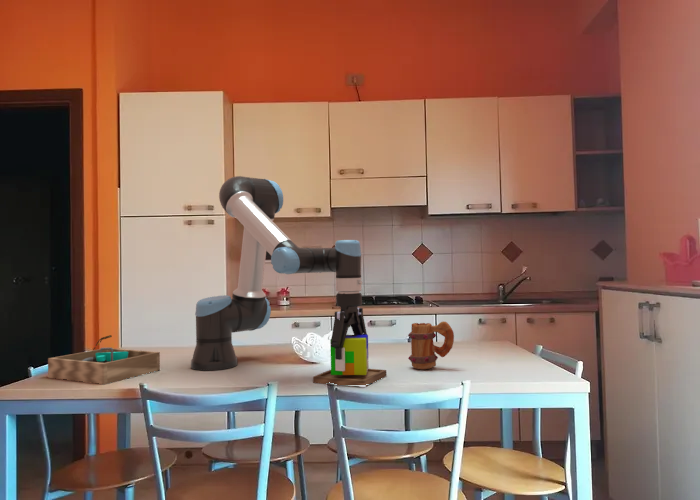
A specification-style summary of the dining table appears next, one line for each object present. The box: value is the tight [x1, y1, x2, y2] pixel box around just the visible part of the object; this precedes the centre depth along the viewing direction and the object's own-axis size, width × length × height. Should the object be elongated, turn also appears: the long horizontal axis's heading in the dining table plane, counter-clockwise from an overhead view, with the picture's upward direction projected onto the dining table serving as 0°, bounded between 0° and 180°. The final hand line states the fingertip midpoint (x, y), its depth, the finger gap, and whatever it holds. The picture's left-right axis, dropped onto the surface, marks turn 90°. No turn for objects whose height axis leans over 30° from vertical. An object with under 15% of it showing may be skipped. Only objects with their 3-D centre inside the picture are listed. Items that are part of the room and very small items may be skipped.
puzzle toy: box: [330, 334, 370, 375], centre depth 158 cm, size 10×10×10 cm
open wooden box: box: [47, 348, 161, 385], centre depth 172 cm, size 25×21×6 cm
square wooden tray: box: [312, 368, 387, 386], centre depth 157 cm, size 16×16×2 cm
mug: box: [407, 320, 455, 370], centre depth 170 cm, size 15×8×15 cm, turn 68°
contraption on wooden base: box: [82, 334, 128, 363], centre depth 172 cm, size 14×18×15 cm
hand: (350, 366), depth 157 cm, fingers closed on puzzle toy, 12 cm apart
